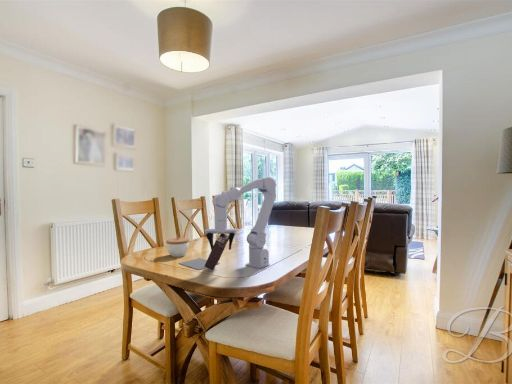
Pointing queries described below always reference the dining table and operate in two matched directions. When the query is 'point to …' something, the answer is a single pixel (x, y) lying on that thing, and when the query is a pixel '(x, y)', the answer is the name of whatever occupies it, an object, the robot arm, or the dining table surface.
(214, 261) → the supplement box
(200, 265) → the felt mat
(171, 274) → the dining table surface
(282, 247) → the dining table surface
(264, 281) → the dining table surface
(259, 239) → the robot arm
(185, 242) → the lidded bowl
